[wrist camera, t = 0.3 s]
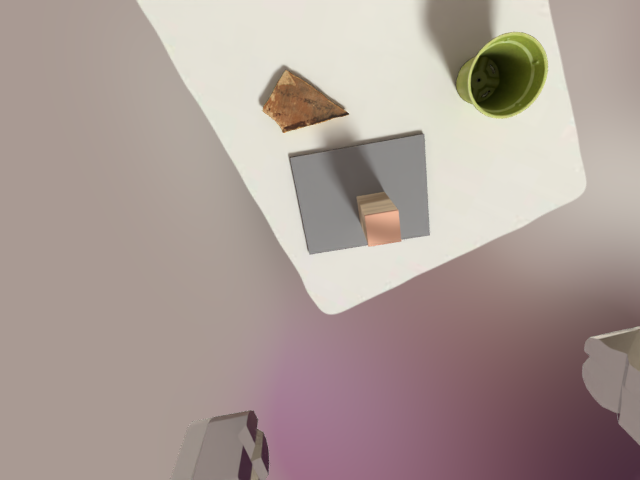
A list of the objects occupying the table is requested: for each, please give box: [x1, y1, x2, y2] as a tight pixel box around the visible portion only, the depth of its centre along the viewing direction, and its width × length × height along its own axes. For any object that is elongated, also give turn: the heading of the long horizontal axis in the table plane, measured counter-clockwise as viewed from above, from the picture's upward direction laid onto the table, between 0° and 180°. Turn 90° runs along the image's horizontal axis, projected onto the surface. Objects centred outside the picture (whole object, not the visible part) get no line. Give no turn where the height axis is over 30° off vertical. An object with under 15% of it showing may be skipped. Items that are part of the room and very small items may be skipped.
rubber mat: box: [290, 134, 430, 254], centre depth 55 cm, size 16×20×1 cm
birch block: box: [357, 192, 401, 247], centre depth 51 cm, size 4×4×10 cm
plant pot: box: [456, 32, 548, 119], centre depth 45 cm, size 9×9×9 cm
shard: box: [262, 70, 349, 133], centre depth 50 cm, size 11×8×2 cm
